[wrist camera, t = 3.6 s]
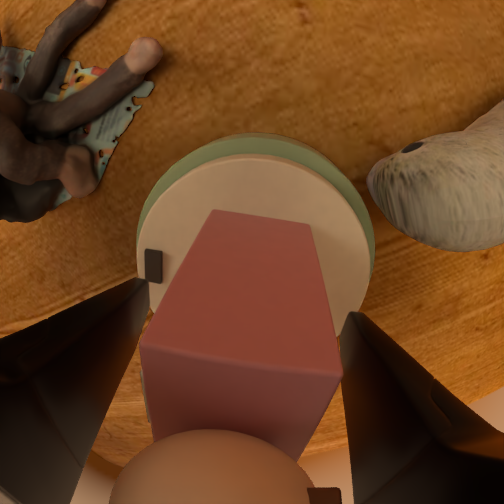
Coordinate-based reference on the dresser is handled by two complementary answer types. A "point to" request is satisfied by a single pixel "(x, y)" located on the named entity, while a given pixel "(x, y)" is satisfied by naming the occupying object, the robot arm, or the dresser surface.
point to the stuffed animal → (63, 115)
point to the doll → (242, 331)
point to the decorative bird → (447, 186)
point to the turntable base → (267, 146)
